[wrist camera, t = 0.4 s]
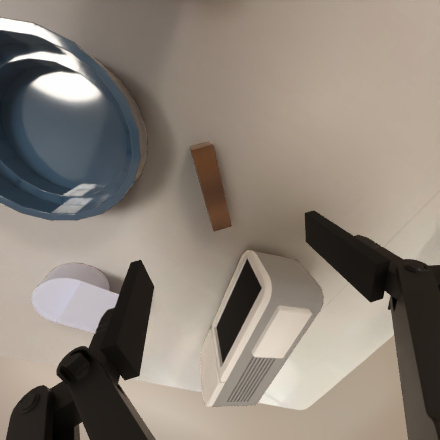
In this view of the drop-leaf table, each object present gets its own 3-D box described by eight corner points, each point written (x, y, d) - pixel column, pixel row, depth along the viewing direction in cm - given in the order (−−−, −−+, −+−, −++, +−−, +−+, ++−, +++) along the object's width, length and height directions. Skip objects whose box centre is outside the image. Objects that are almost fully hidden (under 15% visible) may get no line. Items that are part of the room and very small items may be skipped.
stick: (189, 146, 27) (190, 150, 23) (208, 141, 27) (213, 144, 23) (210, 219, 32) (213, 231, 28) (226, 215, 32) (231, 226, 28)
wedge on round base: (142, 286, 35) (59, 253, 30) (134, 320, 29) (29, 286, 24) (117, 320, 37) (36, 295, 32) (105, 358, 31) (3, 335, 26)
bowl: (-58, 66, 20) (-145, 45, 15) (111, 28, 21) (87, -5, 16) (45, 216, 27) (12, 238, 22) (166, 183, 28) (163, 196, 23)
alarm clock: (244, 240, 34) (272, 292, 24) (290, 250, 37) (334, 301, 27) (198, 348, 44) (203, 419, 33) (237, 350, 47) (254, 416, 36)
